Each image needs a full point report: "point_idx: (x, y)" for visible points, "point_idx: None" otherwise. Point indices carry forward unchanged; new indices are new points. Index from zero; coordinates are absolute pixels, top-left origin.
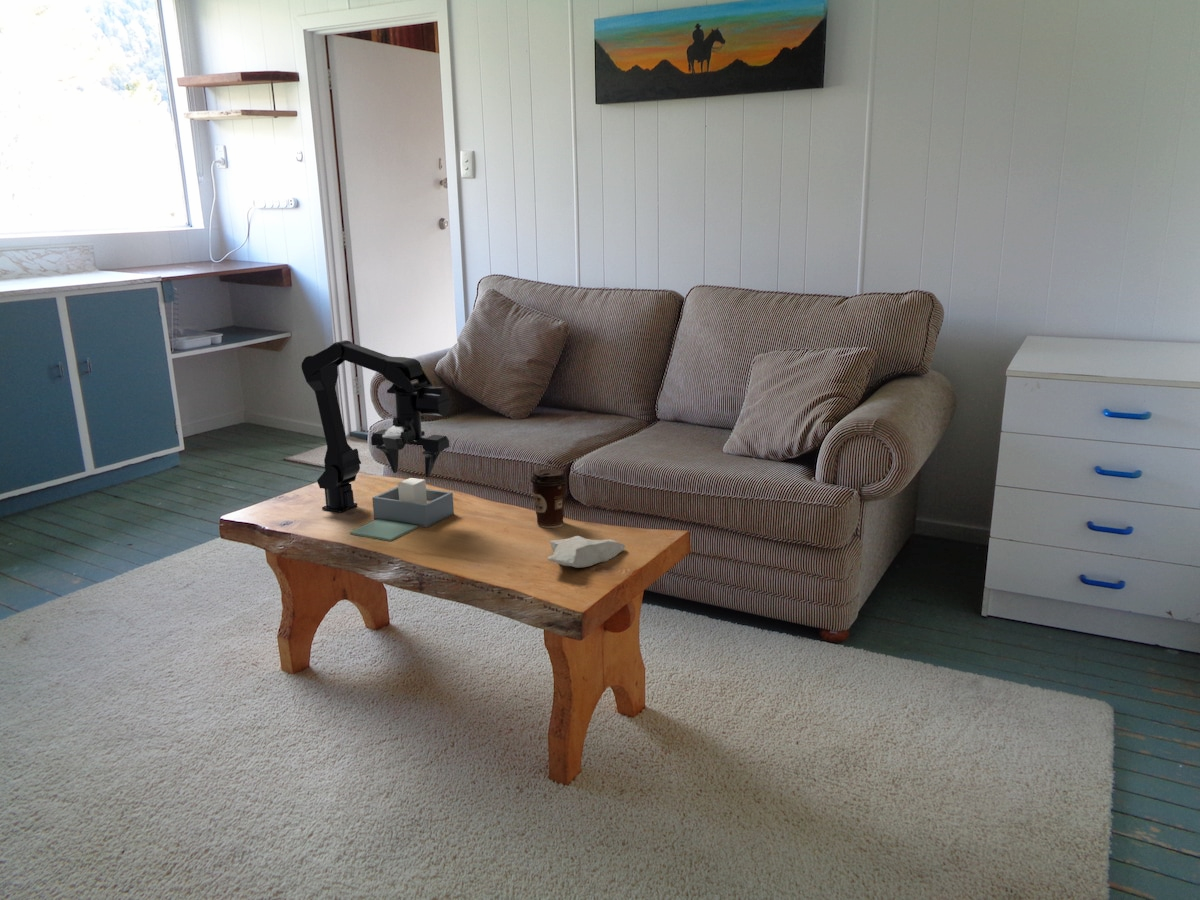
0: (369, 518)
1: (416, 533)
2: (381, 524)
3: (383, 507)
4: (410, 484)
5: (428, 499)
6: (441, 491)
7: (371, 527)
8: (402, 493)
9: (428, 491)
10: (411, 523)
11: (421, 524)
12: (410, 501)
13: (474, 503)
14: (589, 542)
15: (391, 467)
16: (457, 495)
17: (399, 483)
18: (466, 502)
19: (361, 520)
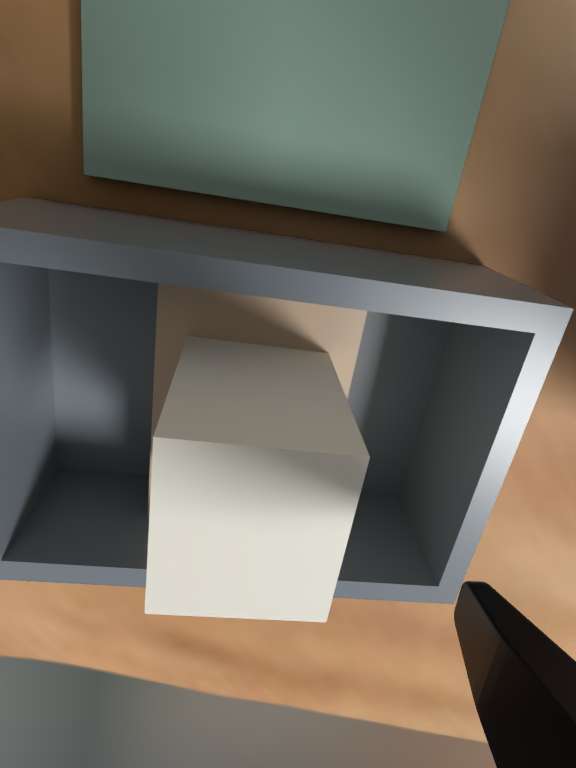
0: (519, 267)
1: (7, 35)
2: (367, 123)
3: (431, 273)
4: (195, 451)
5: None
6: (78, 576)
7: (414, 28)
8: (303, 398)
9: None
10: (166, 219)
11: (71, 206)
12: (218, 362)
13: (51, 625)
14: None
15: (542, 635)
16: (209, 683)
17: (346, 454)
18: (102, 626)
19: (559, 214)
